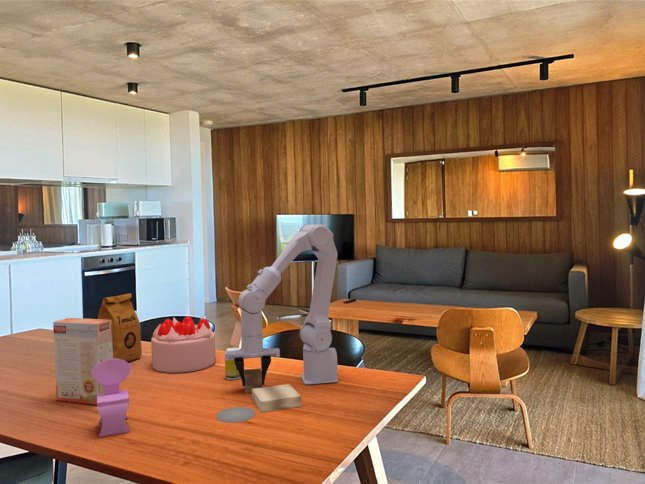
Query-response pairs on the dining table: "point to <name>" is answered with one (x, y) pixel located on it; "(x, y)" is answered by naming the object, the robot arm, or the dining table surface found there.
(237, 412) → the felt coaster
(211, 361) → the cake
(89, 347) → the cracker box
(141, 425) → the dining table surface
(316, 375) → the robot arm
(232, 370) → the supplement bottle
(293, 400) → the maple block
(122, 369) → the toy chair
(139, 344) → the coffee package
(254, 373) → the walnut block
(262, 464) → the dining table surface
